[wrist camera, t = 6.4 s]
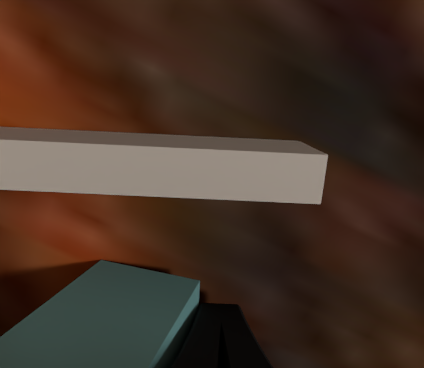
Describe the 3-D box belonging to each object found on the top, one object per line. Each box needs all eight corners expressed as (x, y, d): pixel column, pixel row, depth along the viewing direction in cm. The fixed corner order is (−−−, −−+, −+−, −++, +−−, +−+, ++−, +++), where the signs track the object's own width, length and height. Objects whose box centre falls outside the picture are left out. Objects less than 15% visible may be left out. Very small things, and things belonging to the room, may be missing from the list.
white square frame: (262, 439, 13) (273, 517, 10) (-39, 427, 13) (-97, 505, 10) (298, 140, 10) (328, 154, 7) (-106, 121, 9) (-216, 129, 7)
